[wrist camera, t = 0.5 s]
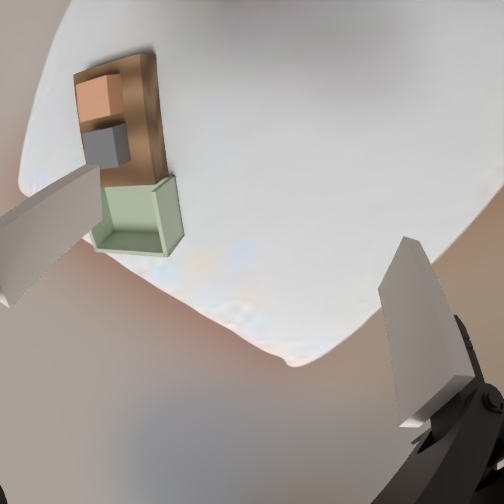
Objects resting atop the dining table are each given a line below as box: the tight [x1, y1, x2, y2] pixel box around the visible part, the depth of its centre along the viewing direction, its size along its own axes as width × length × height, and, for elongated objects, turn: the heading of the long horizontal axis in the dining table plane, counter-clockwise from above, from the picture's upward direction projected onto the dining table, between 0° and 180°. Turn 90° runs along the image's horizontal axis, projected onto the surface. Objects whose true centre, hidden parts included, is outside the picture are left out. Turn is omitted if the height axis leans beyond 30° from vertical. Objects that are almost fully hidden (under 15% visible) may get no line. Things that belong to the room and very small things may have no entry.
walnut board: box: [73, 54, 168, 188], centre depth 35 cm, size 17×11×4 cm, turn 3°
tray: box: [89, 176, 184, 257], centre depth 41 cm, size 9×13×6 cm
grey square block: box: [82, 123, 131, 169], centre depth 33 cm, size 5×5×3 cm
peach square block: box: [76, 74, 124, 122], centre depth 30 cm, size 5×5×3 cm
